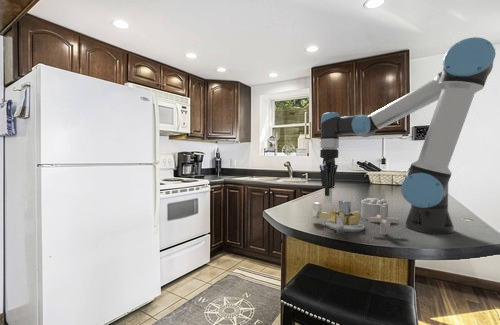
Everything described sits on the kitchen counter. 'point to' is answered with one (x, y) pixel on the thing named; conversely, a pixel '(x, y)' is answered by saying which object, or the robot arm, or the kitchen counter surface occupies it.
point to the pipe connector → (383, 220)
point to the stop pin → (340, 225)
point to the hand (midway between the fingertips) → (328, 203)
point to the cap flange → (346, 207)
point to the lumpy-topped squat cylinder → (372, 207)
